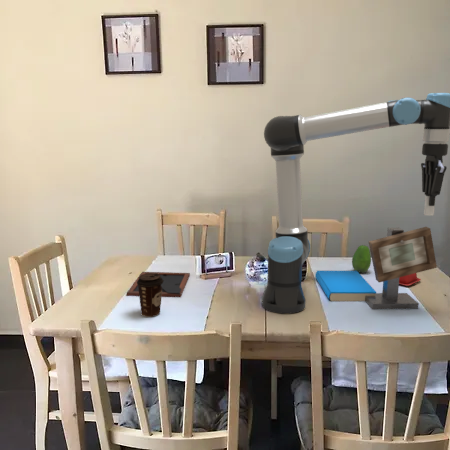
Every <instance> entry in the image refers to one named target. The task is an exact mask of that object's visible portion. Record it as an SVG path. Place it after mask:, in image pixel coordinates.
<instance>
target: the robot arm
mask: <svg viewBox="0 0 450 450" xmlns="http://www.w3.org/2000/svg"><path fill="white" fill-rule="evenodd" d="M405 125H406V126H407V125H424V127H423V128H424V129H423V133H422V134H423V136H422V142H424V143H422V146H421V147H422V150H421V154H422V155H423V156H426V157H425V160H424V161H425V162H422V163H420V167H421V187H422V188H421V189H422V193H424V195H425V199H424V208H423V209H424V210H423V215H424V216H431V217H432V216H435V208H436V197H437V196H439V195H440V194H441V190H442V186H443V182H444V177H445V173H446V172H447V166H446V165H444V164H443V163H444V162H443V157H444V156H445V157H446V156H447V155H448V149H449V144H448V143H447V142H449V138H450V93H449V92H430V93H428V94H427V95H426V98H425V99H415V98H413V97H404V98H403V97H402V98H400V99H393V100H388V101H385V102H380V103H374V104H368V105H363V106H358V107H352V108H348V109H346V108H345V109H342V110H336V111H335V110H334V111H331V112H330V111H329V112H327V113H319V114H315V115H309V116H303V115H301V114H298V115H279V116H276V117H275V116H274V117H273V118H271V119H270V120H269V121H268V122H267V123H266V125H265V127H264V129H263V130H264V132H263V136H264V137H263V138H264V141H265V143H266V144H267V146H268V147H270V156H271V158H273V160H274V161H275V173H276V189H277V191H276V193H277V208H278V224H279V225H278V227H277V228H276V230H275V237H274V238H272V239H271V240H270V241H269V244H268V248H267V284H266V286H265V288H264V291H263V295H262V297H261V306H262V307H263V309H265V310H267V311H269V312H271V313H276V314H284V313H289V314H296V313H295V312H297V313H300V312H302V311H304V310H305V309H306V305H307V304H306V303H307V302H306V298H305V295H304V289H303V286H302V275H303V274H302V273H303V265H304V263H305V261H306V260H307V259H308V257H309V255H310V252H311V243H310V240H309V238H308V237H309V232H308V228H307V227H306V226H304V223H303V222H304V220H303V218H304V217H303V200H302V199H303V198H302V178H301V173H302V172H301V158H302V157H303V155H304V154H305V150H304V149H305V146H304V145H306V144H307V143H308V142H309V141H315V140H322V139H326V138H333V137H339V136H344V135H350V134H356V133H357V134H358V133H361V132H369V131H373V130H379V129H385V128H392V127H399V126H405ZM304 308H305V309H304ZM303 309H304V310H303ZM299 311H300V312H299Z"/></svg>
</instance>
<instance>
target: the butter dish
mask: <svg viewBox="0 0 450 450" xmlns="http://www.w3.org/2000/svg"><path fill="white" fill-rule="evenodd" d="M417 274H418V273H414V274H410V275H406V276H403V277H399V285H401V286H406V287H407V286H412V285H413V284H415V283H418V282H420V281H422V279H421V278H419V277H418V275H417Z"/></svg>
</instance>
